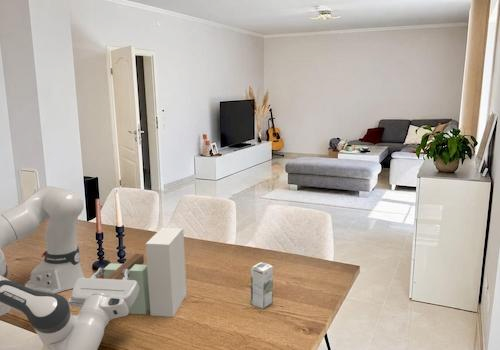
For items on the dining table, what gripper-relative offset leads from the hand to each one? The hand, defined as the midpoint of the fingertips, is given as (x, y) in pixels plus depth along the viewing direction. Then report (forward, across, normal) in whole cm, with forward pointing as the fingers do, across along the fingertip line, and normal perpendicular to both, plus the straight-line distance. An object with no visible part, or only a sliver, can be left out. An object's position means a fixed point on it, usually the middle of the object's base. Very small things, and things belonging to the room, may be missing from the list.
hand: (114, 269), depth 136 cm
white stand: (+2, +13, -23) cm, 26 cm away
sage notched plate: (-2, 0, -20) cm, 21 cm away
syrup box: (+5, +46, -25) cm, 53 cm away
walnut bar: (+4, 0, -9) cm, 10 cm away
